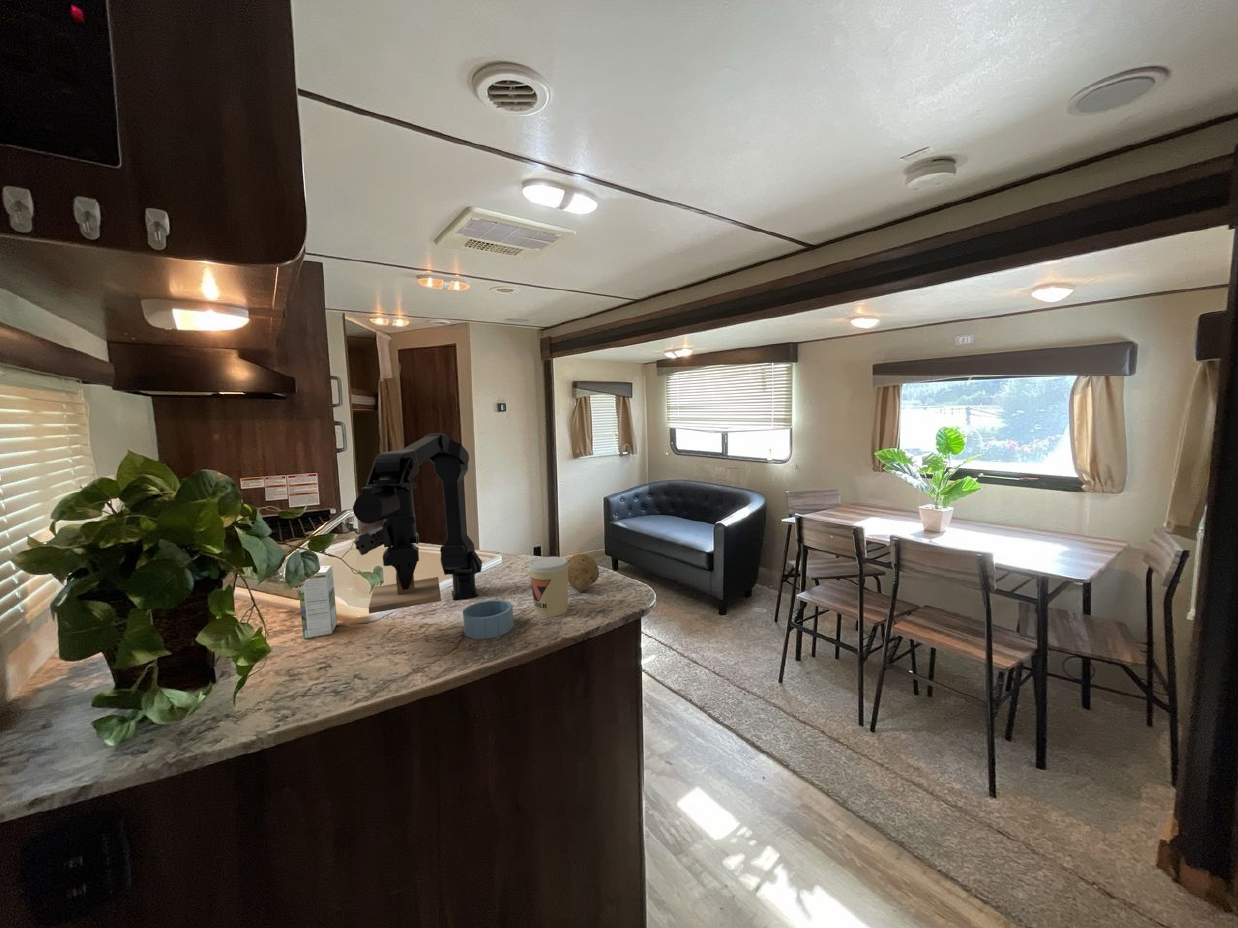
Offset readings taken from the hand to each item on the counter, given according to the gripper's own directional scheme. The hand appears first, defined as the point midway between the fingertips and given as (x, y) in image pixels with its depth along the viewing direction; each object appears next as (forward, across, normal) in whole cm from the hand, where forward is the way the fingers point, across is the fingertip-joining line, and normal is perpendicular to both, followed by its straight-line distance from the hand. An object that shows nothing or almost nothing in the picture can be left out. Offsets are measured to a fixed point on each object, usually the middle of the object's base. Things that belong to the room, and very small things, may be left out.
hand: (405, 586), depth 100 cm
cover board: (+2, 0, 0) cm, 2 cm away
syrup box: (+12, -16, -19) cm, 28 cm away
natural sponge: (+12, -11, +42) cm, 45 cm away
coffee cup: (+12, -2, +31) cm, 33 cm away
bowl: (+12, +1, +16) cm, 20 cm away
